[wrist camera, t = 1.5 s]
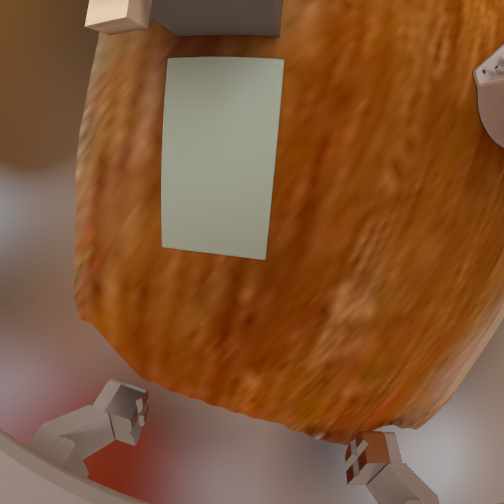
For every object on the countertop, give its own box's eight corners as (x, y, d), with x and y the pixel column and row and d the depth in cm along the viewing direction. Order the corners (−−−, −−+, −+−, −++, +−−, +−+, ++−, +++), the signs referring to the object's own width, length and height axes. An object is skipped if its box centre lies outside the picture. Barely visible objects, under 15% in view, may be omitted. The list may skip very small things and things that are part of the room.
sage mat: (265, 257, 54) (265, 259, 53) (164, 244, 55) (162, 246, 54) (284, 61, 41) (284, 59, 40) (170, 59, 43) (167, 58, 42)
